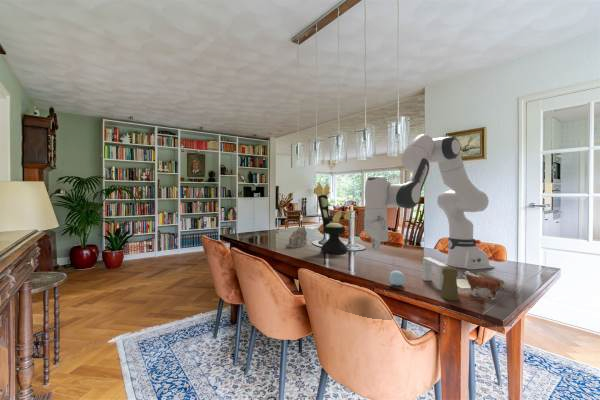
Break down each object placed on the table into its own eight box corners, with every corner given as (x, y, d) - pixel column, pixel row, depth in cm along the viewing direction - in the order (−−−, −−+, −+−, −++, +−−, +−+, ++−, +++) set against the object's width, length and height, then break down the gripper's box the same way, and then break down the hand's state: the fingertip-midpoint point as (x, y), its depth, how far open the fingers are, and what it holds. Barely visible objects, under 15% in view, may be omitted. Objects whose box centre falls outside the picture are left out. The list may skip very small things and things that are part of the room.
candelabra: (341, 256, 181) (341, 180, 180) (308, 252, 192) (308, 180, 191) (352, 250, 198) (352, 181, 196) (321, 247, 209) (321, 181, 207)
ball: (401, 282, 129) (401, 268, 129) (406, 287, 123) (407, 272, 123) (387, 283, 129) (387, 269, 129) (392, 287, 123) (392, 272, 123)
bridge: (429, 279, 135) (429, 257, 134) (447, 290, 120) (448, 265, 120) (422, 279, 135) (422, 257, 134) (440, 290, 120) (440, 265, 119)
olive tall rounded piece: (437, 294, 115) (437, 265, 115) (452, 294, 115) (453, 265, 115) (446, 300, 109) (446, 269, 109) (462, 299, 109) (462, 269, 109)
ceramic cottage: (299, 242, 229) (298, 222, 228) (311, 246, 215) (311, 225, 214) (281, 245, 221) (280, 225, 220) (292, 250, 207) (291, 228, 206)
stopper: (481, 278, 136) (481, 271, 136) (504, 288, 122) (504, 281, 122) (476, 278, 136) (477, 271, 136) (499, 288, 122) (499, 281, 122)
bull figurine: (464, 289, 121) (465, 269, 120) (501, 299, 109) (502, 277, 109) (458, 291, 118) (458, 270, 118) (495, 302, 107) (496, 279, 107)
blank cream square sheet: (471, 279, 134) (471, 278, 134) (490, 288, 122) (490, 287, 122) (445, 279, 134) (445, 279, 134) (461, 288, 122) (461, 288, 122)
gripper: (392, 217, 115) (392, 254, 115) (375, 213, 135) (375, 244, 135) (376, 217, 114) (375, 254, 115) (361, 213, 135) (361, 244, 135)
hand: (375, 249), depth 125 cm, fingers closed
